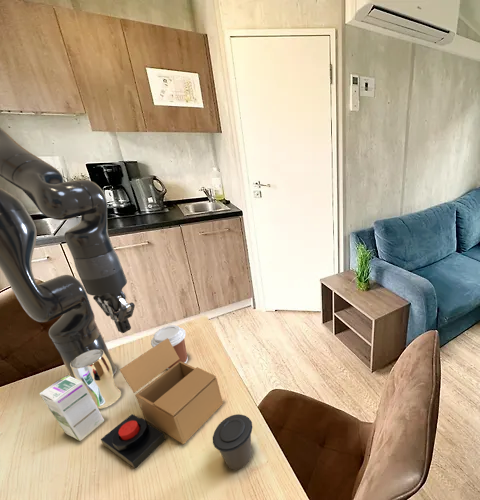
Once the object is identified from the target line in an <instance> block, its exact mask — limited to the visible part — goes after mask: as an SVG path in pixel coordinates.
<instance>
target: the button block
mask: <svg viewBox="0 0 480 500" xmlns="http://www.w3.org/2000/svg"><path fill="white" fill-rule="evenodd" d="M129 421H137V423H138V425H139V428H140V429H139V432H138V433H137V434H136V435H135V436H134V437H133V438H131V439H129V440H122V439H121V437H120V436H119V433H118V432H119V429H120V428H121V426H123V425H124V424H125V423H127V422H129ZM100 441H101V442H102V444H103V446H104V447H106V448H107V449H108V450H109V451H111V452H112V453H113V454H114V455H116V456H118V457H119V458H120V459H121V460H123V461H124V462H126V463H127V464H128V465H129V466H131V467H132V468H133V469H137V468H138V467H139V466H140V465H141V464H142V463H143V462H144V461H145V460H146V459H147V458H148V457H149V456H150V455H151V454H152V453H154V452H155V450H157V449H158V447H160V446H161V445H162V444H163V443H164V442H165V441H166V438H165V434H164V432H162V431H161V430H159V429H157V428H156V427H154V426H153V425H151V424H150V423H148V422H147V421H146V419H145V418H143V417H140V418H139V417H138V416H136V415H135V414H133V413H131V414H130V415H128V417H127V418H125V419H124V420H123V421H121V422H120V423H119V424H117V426H115V427H114V428H113V429H112V430H110V431H108V433H107V434H105V435H104V436H103V437H102V438H100Z"/></svg>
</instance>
